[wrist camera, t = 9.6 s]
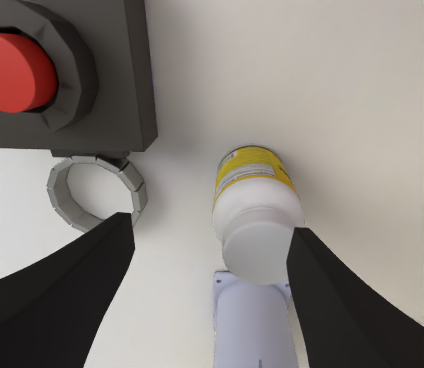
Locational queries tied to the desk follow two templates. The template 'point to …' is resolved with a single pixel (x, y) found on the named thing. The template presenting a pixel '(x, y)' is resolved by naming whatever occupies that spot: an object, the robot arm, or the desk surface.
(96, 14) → the power button base
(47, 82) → the power button
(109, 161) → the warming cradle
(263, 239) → the supplement bottle
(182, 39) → the desk surface
